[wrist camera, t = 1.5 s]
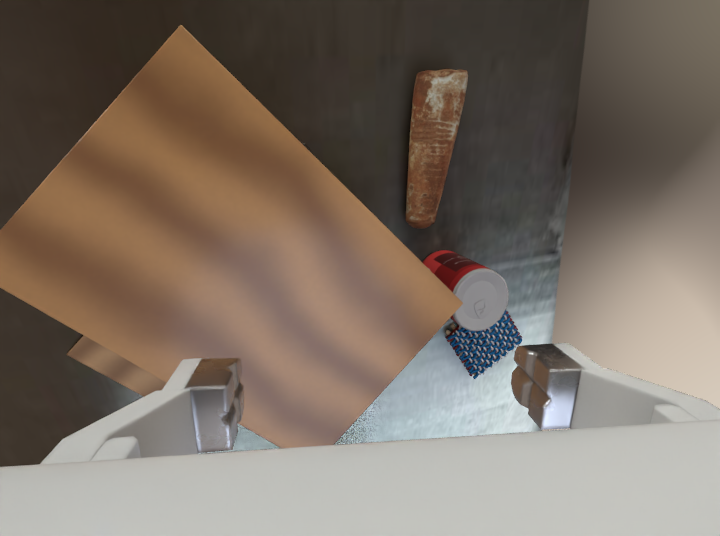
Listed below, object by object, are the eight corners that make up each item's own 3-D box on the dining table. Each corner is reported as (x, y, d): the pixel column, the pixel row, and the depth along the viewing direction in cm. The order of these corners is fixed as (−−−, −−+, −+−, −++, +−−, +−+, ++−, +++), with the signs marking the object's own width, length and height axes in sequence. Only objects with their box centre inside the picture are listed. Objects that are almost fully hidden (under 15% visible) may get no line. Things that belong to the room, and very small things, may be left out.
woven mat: (519, 336, 64) (527, 341, 62) (469, 375, 63) (476, 382, 61) (493, 290, 60) (501, 294, 58) (439, 331, 59) (446, 337, 57)
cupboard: (287, 340, 53) (313, 466, 31) (107, 211, 43) (-34, 268, 21) (375, 242, 52) (463, 303, 31) (214, 90, 43) (180, 24, 21)
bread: (454, 79, 49) (479, 71, 44) (429, 227, 54) (448, 235, 49) (409, 70, 47) (429, 59, 42) (387, 223, 52) (402, 231, 47)
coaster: (68, 352, 46) (66, 354, 45) (129, 284, 46) (128, 285, 45) (164, 405, 51) (164, 407, 50) (220, 343, 50) (220, 345, 50)
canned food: (429, 310, 58) (468, 343, 48) (406, 268, 55) (442, 294, 45) (471, 281, 58) (518, 308, 48) (450, 238, 55) (495, 257, 45)
